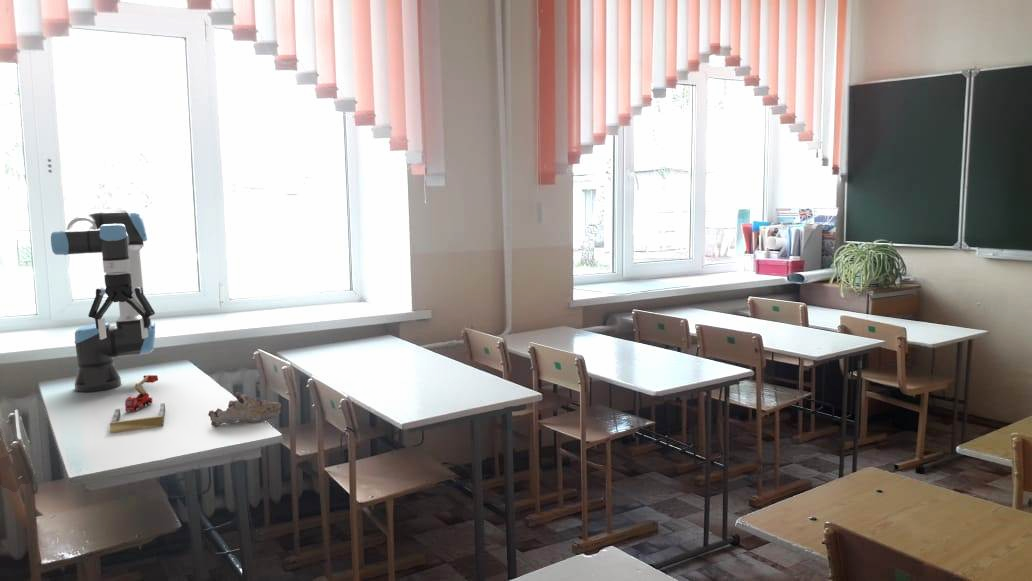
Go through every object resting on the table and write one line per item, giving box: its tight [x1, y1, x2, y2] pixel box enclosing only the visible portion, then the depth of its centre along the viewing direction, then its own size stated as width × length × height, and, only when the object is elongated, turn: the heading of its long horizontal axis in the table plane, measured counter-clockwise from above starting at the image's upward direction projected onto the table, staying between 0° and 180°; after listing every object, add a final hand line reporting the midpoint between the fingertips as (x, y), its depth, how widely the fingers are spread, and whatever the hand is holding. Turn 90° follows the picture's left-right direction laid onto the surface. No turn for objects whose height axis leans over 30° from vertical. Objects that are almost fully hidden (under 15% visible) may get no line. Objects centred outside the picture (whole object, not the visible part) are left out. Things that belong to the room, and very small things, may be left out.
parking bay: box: [109, 402, 166, 434], centre depth 243 cm, size 18×14×3 cm
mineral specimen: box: [208, 391, 282, 428], centre depth 239 cm, size 20×10×10 cm
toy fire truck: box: [124, 374, 159, 413], centre depth 259 cm, size 3×14×10 cm, turn 168°
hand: (124, 338), depth 249 cm, fingers open, 13 cm apart
